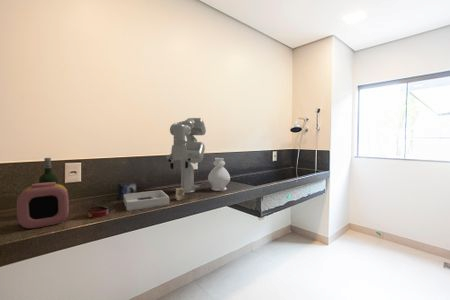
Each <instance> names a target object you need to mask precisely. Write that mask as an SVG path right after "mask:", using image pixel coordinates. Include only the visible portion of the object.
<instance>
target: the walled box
mask: <svg viewBox="0 0 450 300" xmlns="http://www.w3.org/2000/svg"><path fill="white" fill-rule="evenodd" d="M123 204H124V207H125V210H126V212H131V211H138V210H139V211H140V210H145V209H151V208H152V209H153V208H159V207H164V206H165V207H166V206H170V196H169V195H168V194H167V193H165V192H164V191H163V190H161V189H160V190H150V191H140V192H136V193H131V194H124V200H123Z"/></svg>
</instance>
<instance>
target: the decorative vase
mask: <svg viewBox="0 0 450 300" xmlns="http://www.w3.org/2000/svg"><path fill="white" fill-rule="evenodd" d="M224 159H225V158H224V157H215V158H214V161H213V166H214V167H213V168H212V169H211V171H210V172H209V174H208V177H207V181H208V182H209V183H210V185H211V186H212V187H210V188H211V190H213V191H217V192H219V191H223V192H224V191H227V190H228V188H227V187H226V186H228V184H229V182H230V181H231V176H230V173H229V171H228V170H227V169H226V168H225V167H224V166H225V165H226V162H225V160H224Z"/></svg>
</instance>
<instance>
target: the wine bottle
mask: <svg viewBox="0 0 450 300" xmlns="http://www.w3.org/2000/svg"><path fill="white" fill-rule="evenodd" d="M43 160H44V173H43V174H42V175H41V176H40V177H39V178H38V183H46V182H56V184H59V182H58V180H59V179H58V176H57V175H56V174H54V173H53V171H52V158H51V157H44V159H43Z"/></svg>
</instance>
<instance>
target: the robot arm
mask: <svg viewBox="0 0 450 300" xmlns="http://www.w3.org/2000/svg"><path fill="white" fill-rule="evenodd" d="M206 132H207V130H206V125H205V123H204V120H203V119H202V118H201V117H189V118H187V119H185V120H183V121H178V122H174V123H172V124H171V125H170V127H169V133H170V134H171V135H172V136H173V144H172V145H171V150H170V152H171V153H170V154H169V155H166V156H165V158H166V159H167V161H168V162H169V165H170V168H171V170H174V162H175V161H180V178H181V179H180V181H181V182H180V183H181V184H180V185H181V187H180V188H183V189H184V194H186V193H187V194H188V193H190V194H191V193H195V192H196V189H197V188H200V187H201V186H200V185H197V184H194V183H195V182H194V178H195V175H194V174H195V173H194V172H195V171H194V170H195V169H194V166H193V163H194V164H196V163H197V164H199V163H202V161H203V159H204V155H205V151H206V148H205V147H206V146H205V143H203V142H202V141H198V139H197V138H196V136H204V135H206Z"/></svg>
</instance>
